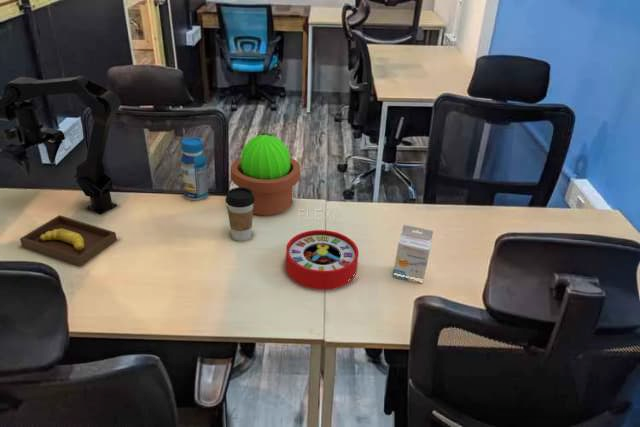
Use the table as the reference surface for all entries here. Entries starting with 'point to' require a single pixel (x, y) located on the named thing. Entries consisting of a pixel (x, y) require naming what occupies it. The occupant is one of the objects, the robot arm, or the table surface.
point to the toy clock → (321, 259)
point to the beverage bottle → (194, 169)
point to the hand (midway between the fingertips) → (40, 168)
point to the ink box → (413, 253)
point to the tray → (93, 243)
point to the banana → (64, 237)
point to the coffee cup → (240, 212)
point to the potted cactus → (266, 174)
